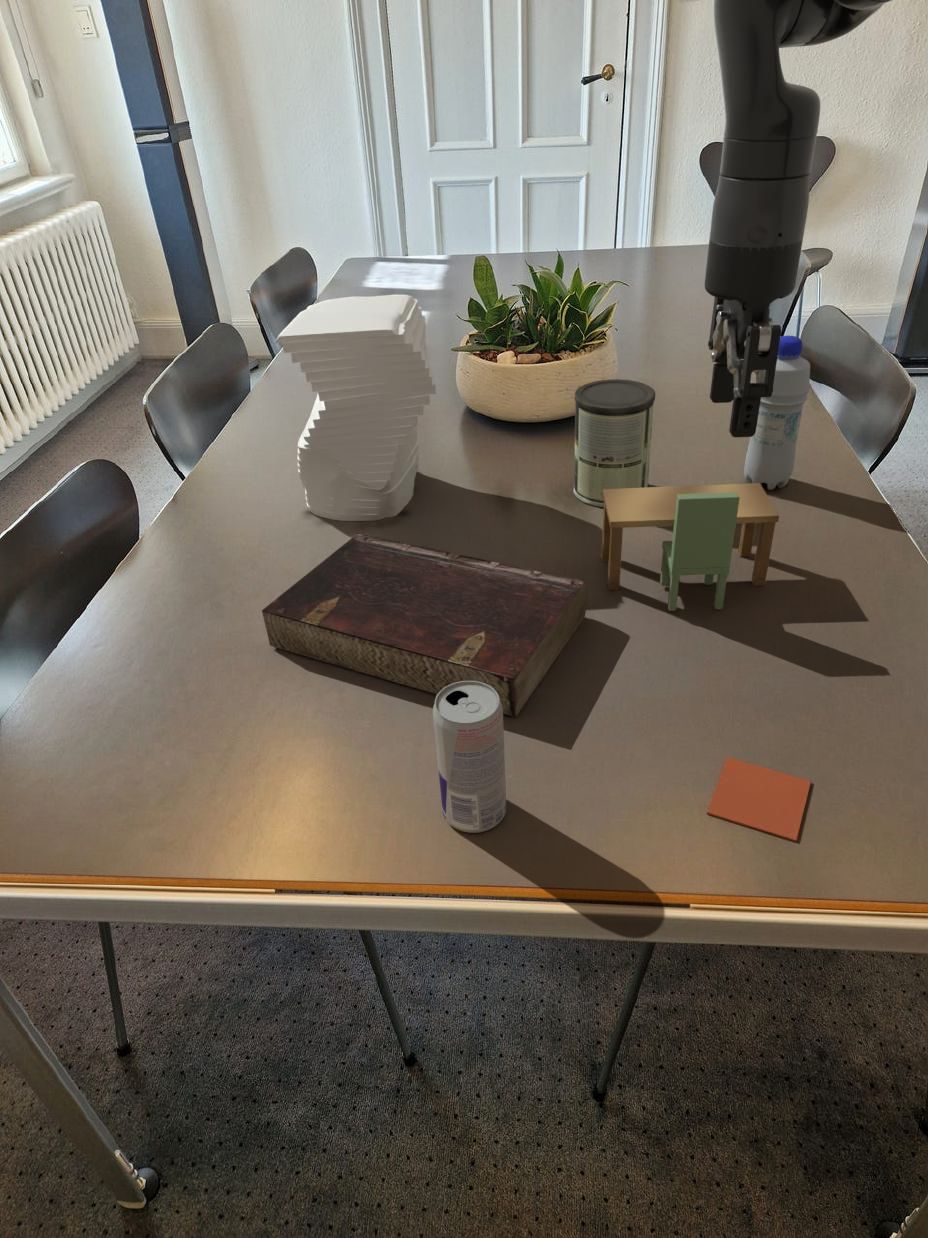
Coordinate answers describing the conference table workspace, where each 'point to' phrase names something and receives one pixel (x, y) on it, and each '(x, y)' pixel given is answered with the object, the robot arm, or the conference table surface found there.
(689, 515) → the chair
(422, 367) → the paper stack
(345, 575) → the hardback book
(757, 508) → the model table
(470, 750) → the energy drink
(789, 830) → the felt mat
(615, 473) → the coffee can
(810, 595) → the conference table surface
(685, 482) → the conference table surface
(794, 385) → the bottle
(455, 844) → the conference table surface
